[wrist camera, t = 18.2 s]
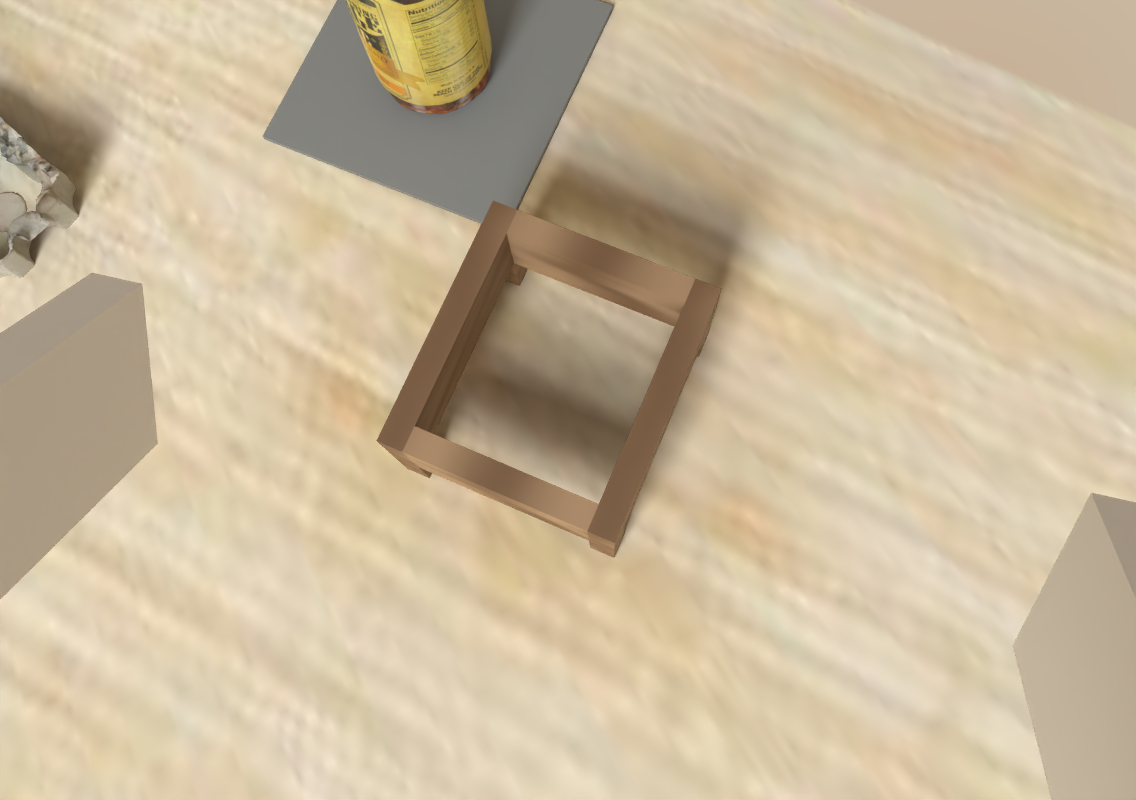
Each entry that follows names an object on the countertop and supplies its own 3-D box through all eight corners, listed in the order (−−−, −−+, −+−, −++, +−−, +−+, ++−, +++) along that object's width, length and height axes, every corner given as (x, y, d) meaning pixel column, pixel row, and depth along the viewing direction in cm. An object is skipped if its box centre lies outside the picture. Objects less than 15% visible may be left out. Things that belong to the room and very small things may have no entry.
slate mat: (613, 8, 54) (613, 5, 54) (506, 233, 51) (505, 230, 51) (380, -73, 56) (379, -77, 56) (264, 139, 53) (262, 136, 53)
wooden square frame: (707, 334, 50) (721, 288, 43) (614, 557, 47) (614, 543, 41) (507, 256, 51) (493, 200, 45) (407, 468, 49) (376, 440, 42)
